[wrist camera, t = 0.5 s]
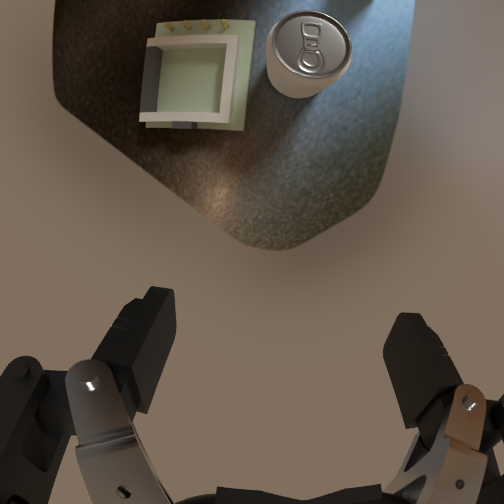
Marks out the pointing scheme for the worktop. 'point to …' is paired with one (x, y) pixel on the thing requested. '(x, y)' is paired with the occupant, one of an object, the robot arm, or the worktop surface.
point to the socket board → (197, 75)
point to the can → (306, 53)
